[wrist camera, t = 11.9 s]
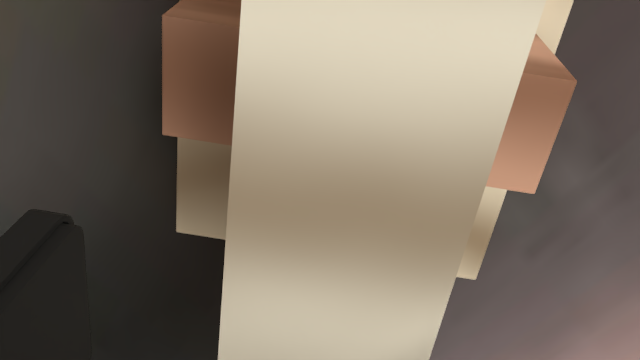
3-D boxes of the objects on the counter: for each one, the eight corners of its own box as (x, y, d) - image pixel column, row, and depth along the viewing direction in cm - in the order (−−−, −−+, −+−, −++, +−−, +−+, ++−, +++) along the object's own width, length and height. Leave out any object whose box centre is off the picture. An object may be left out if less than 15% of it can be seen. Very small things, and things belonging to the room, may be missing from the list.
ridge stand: (470, 258, 26) (496, 370, 21) (185, 212, 26) (134, 312, 21) (632, -221, 17) (757, -253, 12) (197, -290, 17) (112, -355, 12)
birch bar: (367, 383, 21) (365, 554, 16) (247, 364, 22) (206, 528, 16) (583, -450, 10) (788, -744, 5) (335, -489, 10) (295, -821, 5)
